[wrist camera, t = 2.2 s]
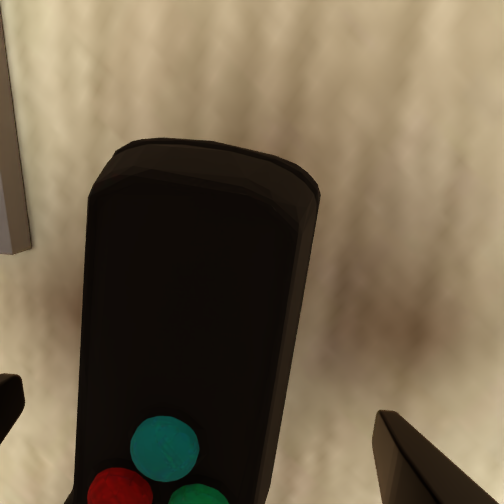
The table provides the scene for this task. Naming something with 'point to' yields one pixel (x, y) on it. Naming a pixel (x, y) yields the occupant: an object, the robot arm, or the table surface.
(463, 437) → the table surface
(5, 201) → the dock
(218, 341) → the controller
